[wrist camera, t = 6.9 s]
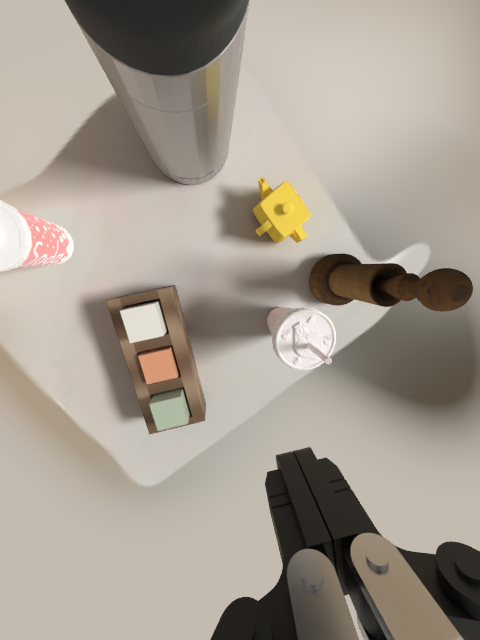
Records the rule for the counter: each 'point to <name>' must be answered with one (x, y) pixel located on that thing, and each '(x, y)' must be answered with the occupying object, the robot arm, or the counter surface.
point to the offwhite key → (144, 321)
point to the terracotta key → (159, 364)
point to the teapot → (280, 212)
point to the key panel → (173, 336)
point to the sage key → (170, 409)
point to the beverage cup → (30, 240)
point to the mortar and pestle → (386, 284)
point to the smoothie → (301, 336)
